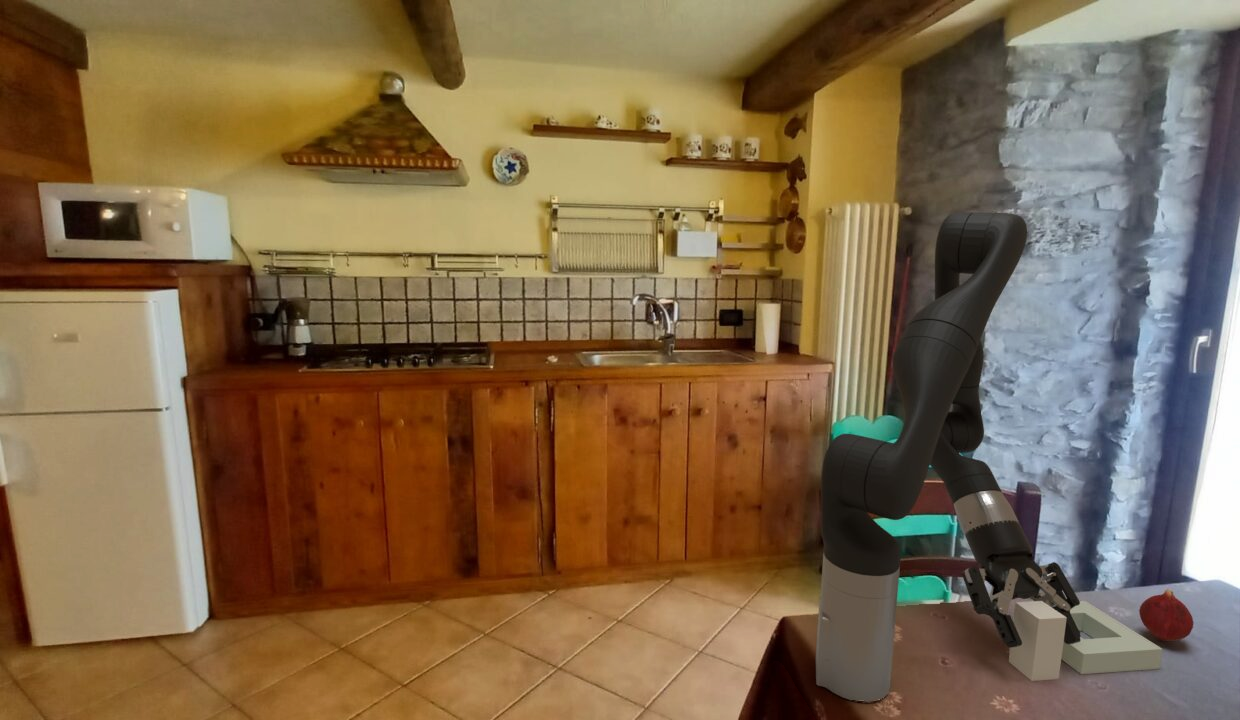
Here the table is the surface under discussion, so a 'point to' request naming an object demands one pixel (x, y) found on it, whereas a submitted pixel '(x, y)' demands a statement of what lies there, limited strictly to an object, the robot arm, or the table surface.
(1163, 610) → the onion
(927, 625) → the table surface
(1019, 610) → the plug
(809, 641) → the table surface
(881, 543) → the robot arm
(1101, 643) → the socket
